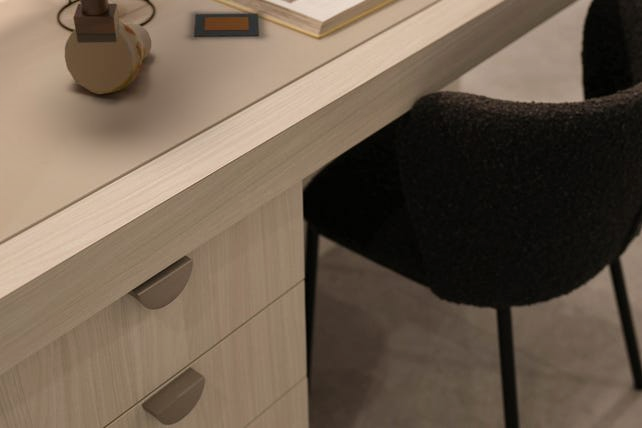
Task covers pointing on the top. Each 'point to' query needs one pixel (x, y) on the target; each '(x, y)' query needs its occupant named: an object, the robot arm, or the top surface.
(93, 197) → the top surface
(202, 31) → the mat
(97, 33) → the stamp
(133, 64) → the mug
